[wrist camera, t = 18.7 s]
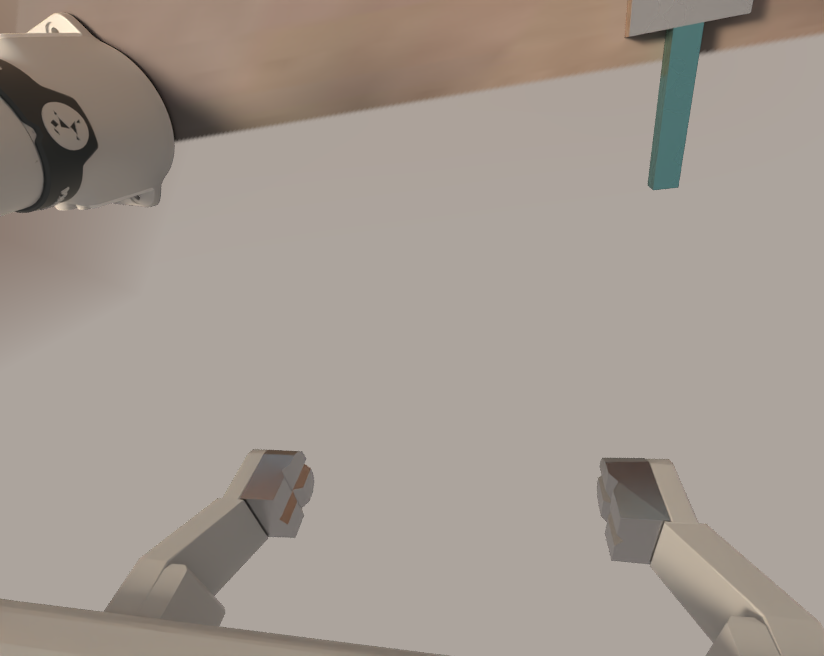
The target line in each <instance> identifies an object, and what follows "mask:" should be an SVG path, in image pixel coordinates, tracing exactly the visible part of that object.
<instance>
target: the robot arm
mask: <svg viewBox="0 0 824 656" xmlns="http://www.w3.org/2000/svg"><path fill="white" fill-rule="evenodd" d="M58 31H59V33H58ZM173 157H174V135H173V129H172V125H171V121H170V118H169V115H168V113H167V110H166V108H165V105H164V103H163V101H162V99H161V97H160V96H159V94H158V92H157V91H156V89H155V87H154V86H153V85H152V83H151V82H150V80H149V79H148V78H147V77H146V75H145V74H144V73H143V72H142V71H141V70H140V69H139V68H138V67H137V66H136V65H135V64H134V63H133V62H132V61H131V60H130V59H129V58H127V57H126V56H125V55H124V54H122V53H121V52H119V51H118V50H116V49H114V48H113V47H111V46H109V45H107V44H105V43H103V42H101V41H100V40H98V39H96V38H95V37H94V36H92V34H91V33H90V32H89V31H88V30H87V29H86V28H85V27H84V26H83V25H82V24H81V23H80V22H79V21H78V20H77V19H75V18H74V17H73V16H71V15H70V14H68V13H54V14H52V15H51V16H49V17H48V18H47V19H45V20H44V21H42V22H41V23H40V24H38V25H37V26H35V27H34V28H33V29H31V30H30V31H28V32H27V33H9V34H8V33H6V34H0V216H3V215H6V214H9V213H12V212H19V213H21V212H22V213H27V212H32V211H37V210H43V209H47V208H50V207H54V206H55V207H56V209H58V210H71V209H75V208H78V209H79V210H87V209H91V208H99V207H102V206H105V205H108V204H112V203H114V204H123V205H132V206H141V207H152V206H155V205H158V203H159V201H160V196H161V184H162V181H163V179H164V178H165V176H166V175H167V173H168V171H169V169H170V167H171V164H172V161H173ZM139 196H140V197H139ZM305 460H306V457H305V455H304V454H303V452H302V451H301V452H300V451H282V450H259V449H253V450H252V451H251V452H249V453H248V455H247V456H246V458H245V460H244V462H243V463H242V465H241V467H240V468H239V470H238V472H237V474H236V475H235V477H234V479H233V480H232V482H231V484H230V486H229V488H228V489H227V491H226V493H225V494H224V496H223V498H217V499H216V500H215V501H213V502H212V503H211V504H210V505H209V506H207V507H206V508H204V509H203V510H202V511H201V512H199V513H198V514H197V515H195V516H194V517H193V518H192V519H190V520H189V521H188V522H186V523H185V524H184V525H183V526H181V527H180V528H179V529H177V530H176V531H175V532H173V533H172V534H171V535H170V536H168V537H167V538H166V539H164V540H163V541H162V542H160V543H159V544H158V545H156V546H155V547H154V548H153V549H151V550H150V551H149V552H147V553H146V554H145V555H143V556H142V557H141V558H139V560H138V561H137V563H136V564H135V566H134V567H133V569H132V570H131V572H130V573H129V575H128V576H127V578H126V579H125V581H124V582H123V583H122V585H121V587H120V588H119V589H118V591H117V593H116V594H115V595H114V597H113V598H112V600H111V601H110V603H109V604H108V606H107V607H106V609H105V610H104V612H100V611H93V610H85V609H76V608H68V607H60V606H52V605H45V604H36V603H28V602H20V601H13V600H6V599H0V656H447V655H440V654H432V653H424V652H416V651H408V650H400V649H392V648H384V647H377V646H369V645H360V644H353V643H345V642H337V641H329V640H321V639H314V638H306V637H298V636H290V635H282V634H273V633H266V632H258V631H250V630H243V629H234V628H226V627H219V626H220V624H221V621H222V619H223V617H224V615H225V609H224V606H223V605H222V604H221V603H220V602H219V601H218V600H217V599H216V598H215V597H214V596H215V595H216V594H217V593H218V591H219V590H220V589H221V588H222V587H223V586H224V585H225V584H226V583H227V582H228V581H229V580H230V579H231V577H233V575H234V574H235V573H236V572H237V571H238V570H239V569H240V568H241V567H242V566H243V565H244V564H245V563H246V562H247V561H248V559H249V558H250V557H251V556H252V555H253V554H254V553H255V552H256V551H257V550H258V549H259V548H260V547H261V546H262V544H263V543H264V542H265V541H266V540H267V539H268V537H290V538H295V537H296V535H297V532H298V529H299V527H300V524H301V522H302V519H303V517H304V514H303V511H302V507H303V506H305V504H307V503H308V502H309V501H310V498H311V496H312V493H313V486H314V477H313V473H312V470H311V468H309V467H308V466H307V465H305V464H304V463H305ZM600 470H601V474H602V475H601V476H600V477H599V478H598V482H597V497H598V504H599V509H600V513H601V516H602V518H603V519H605V521H606V522H607V525H606V531H605V536H606V540H607V544H608V548H609V552H610V556H611V560H612V561H622V562H632V563H643V564H650V567H651V568H652V569H653V570H654V572H655V573H656V574H657V575H658V576H659V578H660V579H661V580H662V581H663V583H664V584H665V585H666V586H667V587H668V589H669V590H670V591H671V592H672V593H673V595H674V596H675V597H676V598H677V600H678V601H679V602H680V603H681V604H682V606H683V607H684V608H685V609H686V610H687V612H688V613H689V614H690V615H691V616H692V617H693V619H694V620H695V621H696V623H697V624H698V625H699V626H700V627H701V629H702V630H703V631H704V632H705V633H706V635H707V636H708V637H709V638H710V639H711V641H712V642H713V645H712V647H711V648H710V650H709V651H708V653H707V655H706V656H824V628H823V626H822V625H821V623H820V622H819V621H818V620H817V619H816V618H815V617H813V616H812V615H811V614H810V613H809V612H808V611H806V610H805V609H804V608H803V607H802V606H801V605H800V604H798V603H797V602H796V601H795V600H794V599H793V598H791V597H790V596H789V595H788V594H787V593H786V592H784V591H783V590H782V589H781V588H780V587H779V586H778V585H776V584H775V583H774V582H773V581H772V580H771V579H769V578H768V577H767V576H766V575H765V574H764V573H762V572H761V571H760V570H759V569H758V568H757V567H755V566H754V565H753V564H752V563H751V562H750V561H749V560H747V559H746V558H745V557H744V556H743V555H742V554H740V553H739V552H738V551H737V550H736V549H735V548H734V547H732V546H731V545H730V544H729V543H728V542H726V541H725V540H724V539H723V538H722V537H721V536H720V535H718V534H717V533H716V532H715V531H714V530H713V529H711V528H710V527H709V526H708V525H707V524H702V523H698V520H697V518H696V516H695V513H694V511H693V509H692V506H691V504H690V502H689V499H688V497H687V495H686V493H685V490H684V488H683V486H682V483H681V481H680V479H679V476H678V474H677V472H676V469H675V467H674V465H673V463H672V462H671V461H670V460H669V459H645V458H602V459H601V462H600Z"/></svg>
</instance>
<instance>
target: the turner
mask: <svg viewBox="0 0 824 656" xmlns="http://www.w3.org/2000/svg"><path fill="white" fill-rule="evenodd" d="M752 4H753V0H627V12H626V24H625V37H630V36H635V35H640V34H645V33H651V32H656V31H661V30H666V36H665V45H664V53H663V61H662V70H661V78H660V86H659V95H658V103H657V112H656V119H655V128H654V136H653V144H652V153H651V161H650V169H649V178H648V186H649V187H650V188H651V189H652V190H659V189H669V188H678V186H679V179H680V173H681V166H682V160H683V154H684V147H685V141H686V135H687V128H688V122H689V116H690V109H691V103H692V96H693V90H694V83H695V77H696V71H697V65H698V58H699V52H700V46H701V39H702V33H703V27H704V22H707V21H712V20H717V19H722V18H727V17H732V16H737V15H743V14H748V13H751V9H752ZM625 37H624V38H625Z"/></svg>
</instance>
